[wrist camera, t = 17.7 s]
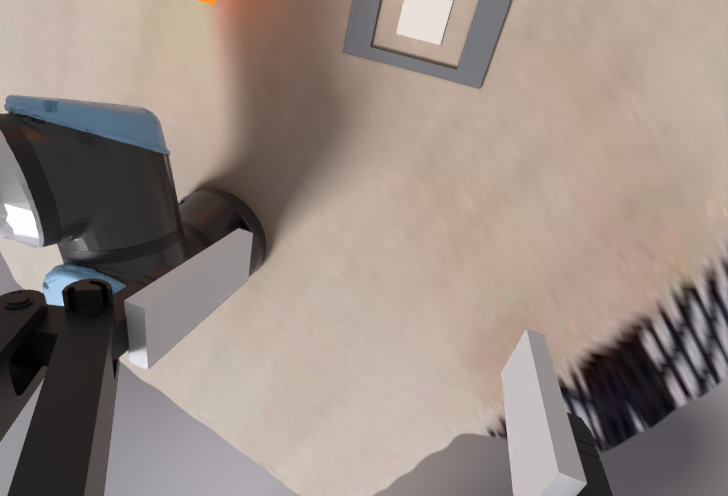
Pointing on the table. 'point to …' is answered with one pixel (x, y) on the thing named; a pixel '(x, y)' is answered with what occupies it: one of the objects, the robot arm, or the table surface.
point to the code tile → (429, 36)
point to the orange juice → (209, 1)
